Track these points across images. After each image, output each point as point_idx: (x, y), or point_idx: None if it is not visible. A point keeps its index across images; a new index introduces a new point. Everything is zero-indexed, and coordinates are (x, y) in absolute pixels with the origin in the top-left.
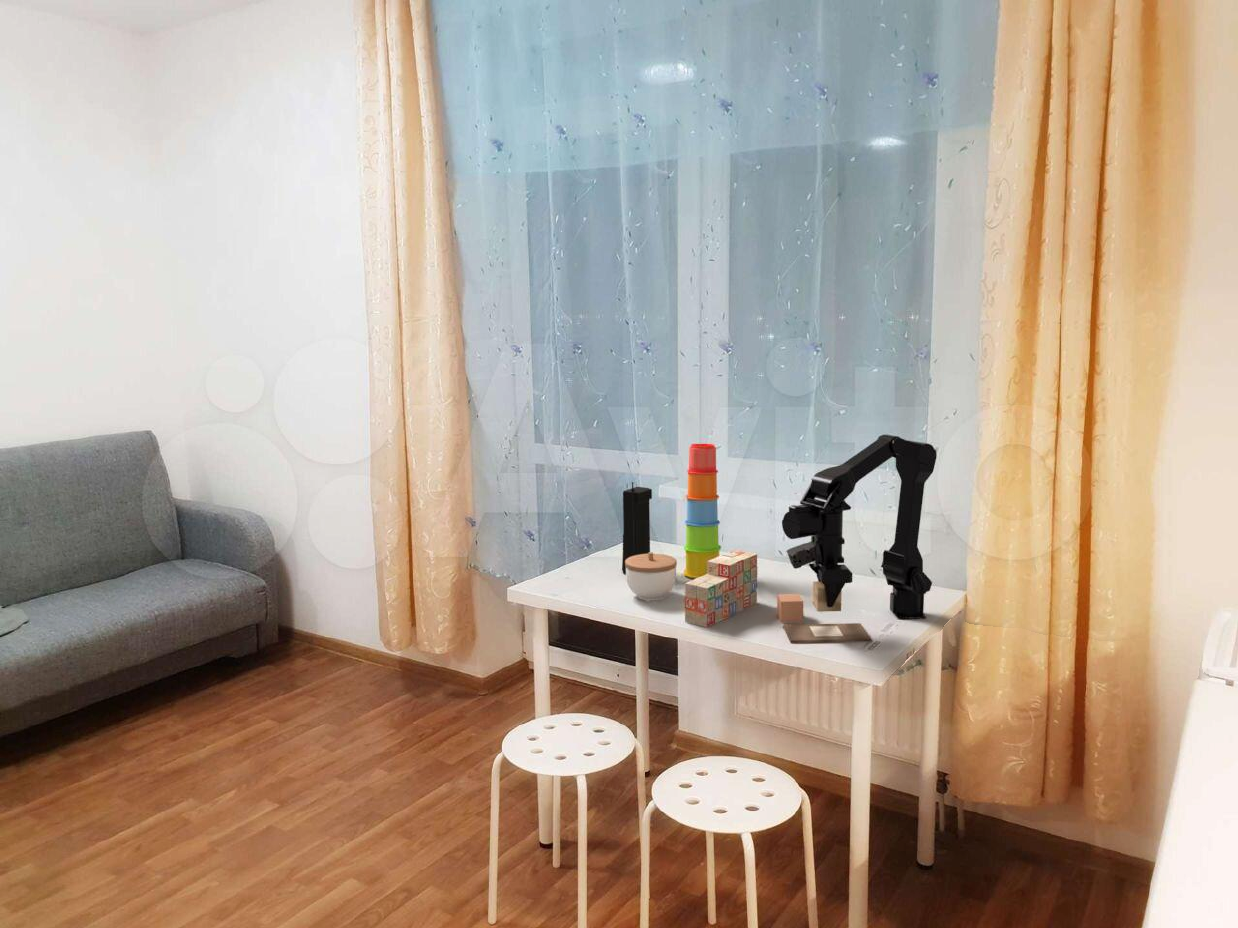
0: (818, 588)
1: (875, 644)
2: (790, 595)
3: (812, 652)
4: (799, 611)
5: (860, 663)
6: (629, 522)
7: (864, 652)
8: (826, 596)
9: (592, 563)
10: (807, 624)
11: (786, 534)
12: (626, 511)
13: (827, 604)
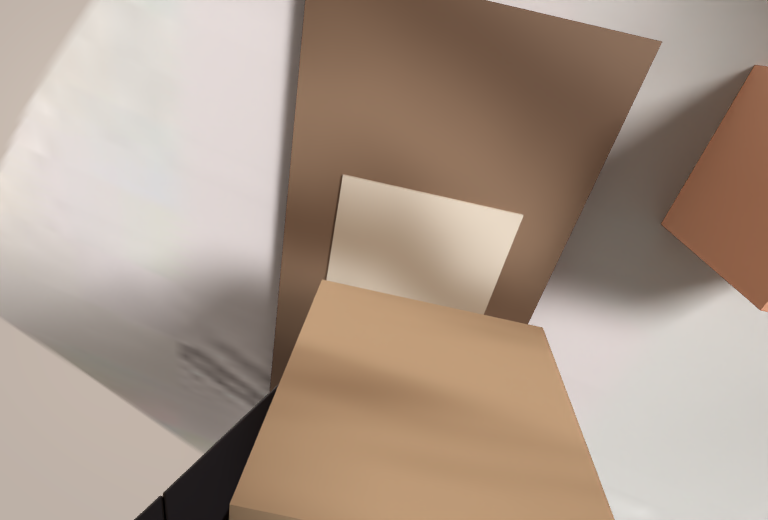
0: (250, 516)
1: (240, 391)
2: None
3: (132, 57)
4: (719, 234)
5: (3, 245)
6: None
7: (146, 317)
8: (196, 463)
9: None
10: (568, 219)
11: None
12: None
13: (268, 394)
